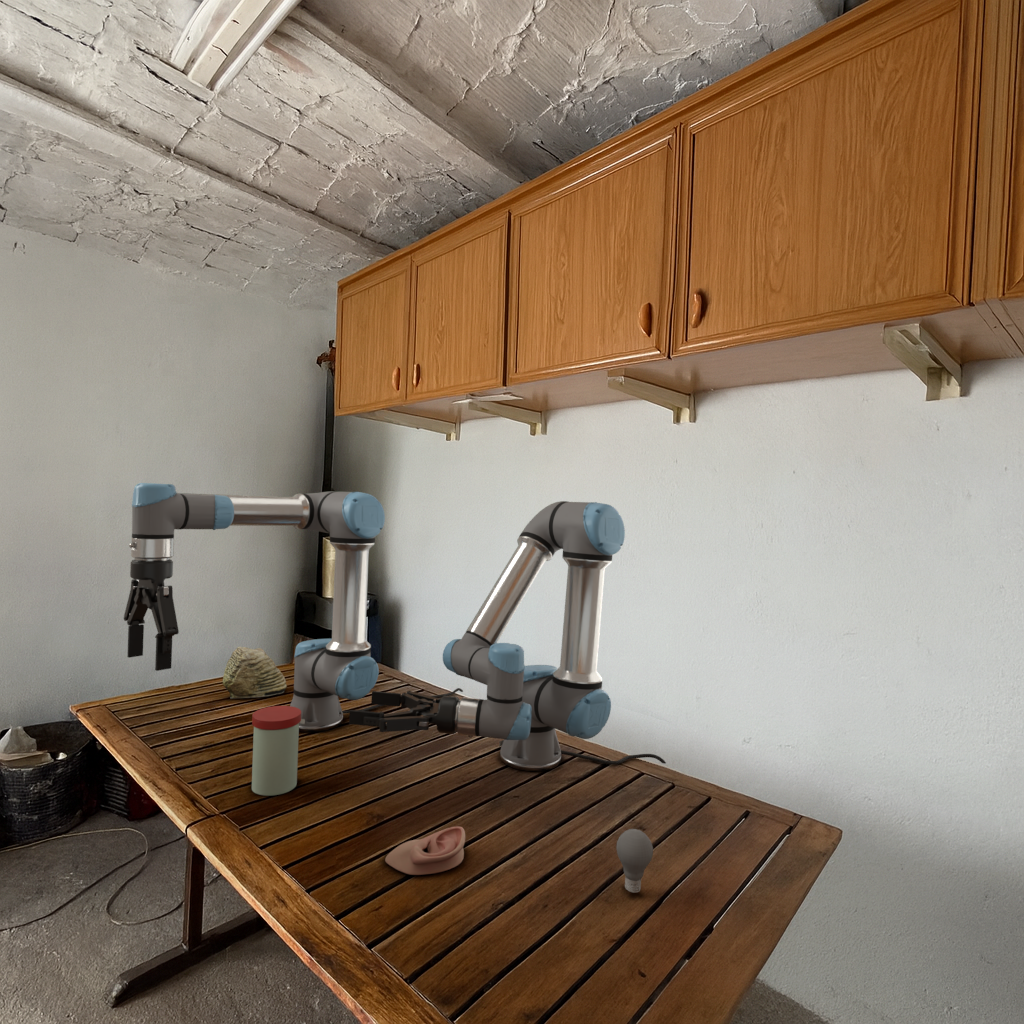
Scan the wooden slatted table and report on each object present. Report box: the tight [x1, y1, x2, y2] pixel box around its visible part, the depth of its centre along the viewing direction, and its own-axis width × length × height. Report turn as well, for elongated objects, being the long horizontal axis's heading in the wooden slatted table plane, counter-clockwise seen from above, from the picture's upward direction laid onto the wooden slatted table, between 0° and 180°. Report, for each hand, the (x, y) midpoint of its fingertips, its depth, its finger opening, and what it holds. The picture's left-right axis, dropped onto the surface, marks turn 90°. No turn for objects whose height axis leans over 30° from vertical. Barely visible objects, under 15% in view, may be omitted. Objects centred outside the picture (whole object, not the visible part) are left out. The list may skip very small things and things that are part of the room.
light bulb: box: [615, 828, 654, 894], centre depth 106 cm, size 6×6×10 cm
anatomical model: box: [384, 826, 466, 876], centre depth 113 cm, size 13×4×12 cm
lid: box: [251, 705, 301, 730], centre depth 138 cm, size 10×10×2 cm
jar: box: [251, 723, 300, 797], centre depth 138 cm, size 9×9×16 cm
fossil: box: [222, 646, 288, 699], centre depth 198 cm, size 9×18×15 cm, turn 132°
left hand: (148, 662), depth 129 cm, fingers open, 13 cm apart
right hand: (361, 706), depth 137 cm, fingers open, 13 cm apart
